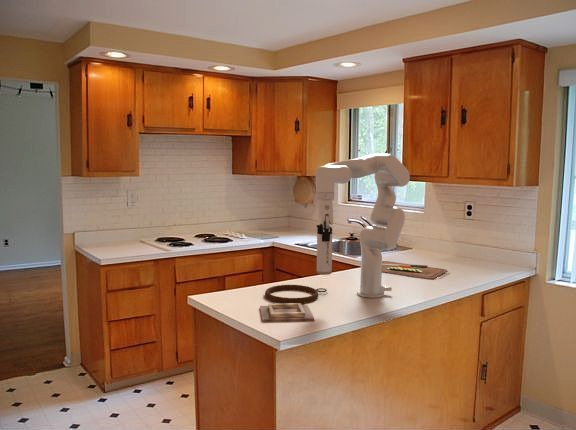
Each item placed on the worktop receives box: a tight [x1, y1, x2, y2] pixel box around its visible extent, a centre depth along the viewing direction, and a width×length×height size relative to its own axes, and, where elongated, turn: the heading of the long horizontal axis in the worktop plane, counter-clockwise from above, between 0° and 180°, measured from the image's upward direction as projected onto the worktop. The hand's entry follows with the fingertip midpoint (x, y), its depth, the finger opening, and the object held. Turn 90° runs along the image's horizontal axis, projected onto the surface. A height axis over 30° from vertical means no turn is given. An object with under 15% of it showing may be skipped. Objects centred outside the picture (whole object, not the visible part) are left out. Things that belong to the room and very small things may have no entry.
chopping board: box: [382, 260, 451, 280], centre depth 292 cm, size 45×27×3 cm, turn 55°
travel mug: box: [316, 224, 333, 276], centre depth 214 cm, size 6×7×20 cm
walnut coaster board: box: [259, 303, 315, 323], centre depth 208 cm, size 20×18×2 cm
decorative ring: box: [264, 284, 328, 305], centre depth 236 cm, size 24×3×30 cm
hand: (324, 239), depth 214 cm, fingers closed on travel mug, 6 cm apart
